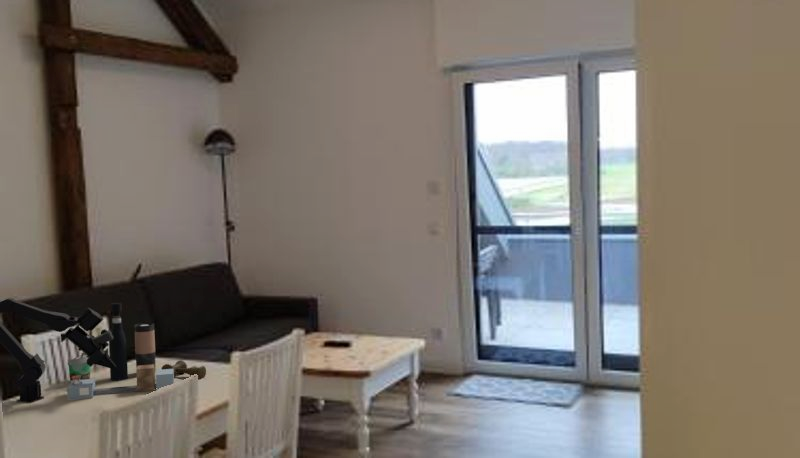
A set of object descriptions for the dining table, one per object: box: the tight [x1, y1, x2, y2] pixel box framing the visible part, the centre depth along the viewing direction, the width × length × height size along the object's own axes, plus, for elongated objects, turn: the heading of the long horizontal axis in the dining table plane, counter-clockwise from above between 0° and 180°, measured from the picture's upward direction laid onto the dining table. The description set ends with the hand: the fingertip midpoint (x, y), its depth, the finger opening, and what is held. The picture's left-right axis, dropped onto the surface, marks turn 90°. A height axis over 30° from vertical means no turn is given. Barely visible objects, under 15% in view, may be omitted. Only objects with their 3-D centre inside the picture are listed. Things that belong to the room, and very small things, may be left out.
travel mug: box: [134, 322, 156, 371], centre depth 292 cm, size 8×8×20 cm
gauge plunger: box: [72, 375, 81, 385], centre depth 261 cm, size 3×3×5 cm
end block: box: [155, 369, 175, 390], centre depth 270 cm, size 6×8×6 cm
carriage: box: [135, 364, 156, 392], centre depth 268 cm, size 6×6×8 cm
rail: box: [93, 383, 157, 396], centre depth 266 cm, size 22×3×2 cm, turn 106°
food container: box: [67, 352, 91, 382], centre depth 282 cm, size 12×6×10 cm, turn 179°
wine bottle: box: [108, 302, 129, 381], centre depth 284 cm, size 6×6×30 cm
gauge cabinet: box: [66, 378, 96, 401], centre depth 262 cm, size 8×10×4 cm
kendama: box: [160, 360, 207, 380], centre depth 286 cm, size 6×10×20 cm
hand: (115, 368), depth 265 cm, fingers closed
